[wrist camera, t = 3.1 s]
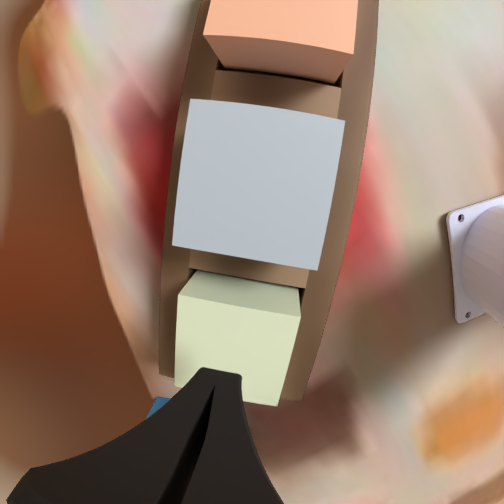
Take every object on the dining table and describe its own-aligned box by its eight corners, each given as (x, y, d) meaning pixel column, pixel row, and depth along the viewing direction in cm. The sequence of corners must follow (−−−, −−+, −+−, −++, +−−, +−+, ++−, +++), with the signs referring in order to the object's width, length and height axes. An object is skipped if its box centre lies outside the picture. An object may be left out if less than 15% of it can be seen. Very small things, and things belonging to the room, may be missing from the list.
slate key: (327, 133, 14) (345, 120, 10) (308, 240, 16) (317, 270, 11) (216, 116, 14) (190, 98, 10) (201, 222, 16) (171, 245, 12)
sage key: (297, 279, 18) (300, 316, 13) (279, 358, 19) (277, 406, 15) (202, 263, 18) (178, 294, 14) (195, 342, 19) (174, 386, 15)
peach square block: (343, -2, 12) (359, -47, 8) (334, 83, 13) (353, 54, 9) (241, -16, 12) (228, -62, 8) (224, 67, 14) (202, 34, 9)
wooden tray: (367, 2, 14) (379, -21, 11) (299, 373, 21) (301, 401, 18) (223, -18, 14) (213, -42, 11) (173, 349, 21) (159, 374, 18)
